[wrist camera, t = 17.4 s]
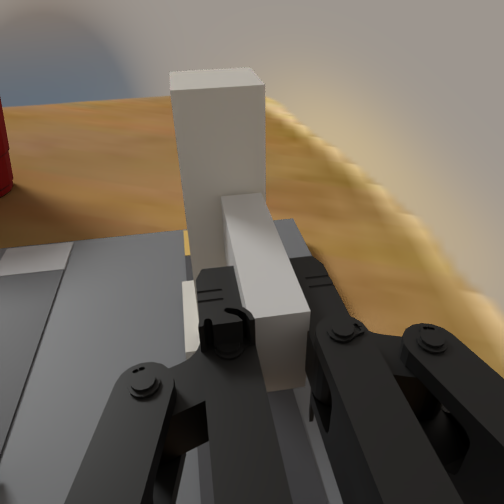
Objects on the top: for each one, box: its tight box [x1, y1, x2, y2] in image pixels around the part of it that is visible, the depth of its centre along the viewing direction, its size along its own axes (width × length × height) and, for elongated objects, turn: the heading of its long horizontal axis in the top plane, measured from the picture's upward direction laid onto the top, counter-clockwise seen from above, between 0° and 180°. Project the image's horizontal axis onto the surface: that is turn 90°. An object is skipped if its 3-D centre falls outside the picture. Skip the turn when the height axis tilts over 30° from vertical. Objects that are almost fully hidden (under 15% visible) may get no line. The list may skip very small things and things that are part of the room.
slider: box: [170, 67, 266, 360], centre depth 18 cm, size 4×5×11 cm
